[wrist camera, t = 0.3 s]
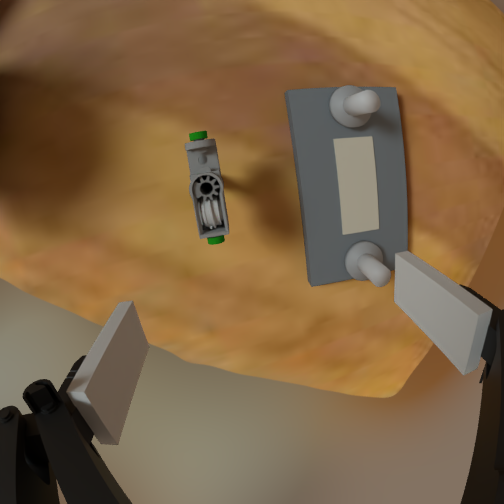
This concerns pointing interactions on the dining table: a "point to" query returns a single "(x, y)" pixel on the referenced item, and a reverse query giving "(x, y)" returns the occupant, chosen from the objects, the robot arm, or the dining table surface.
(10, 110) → the dining table surface
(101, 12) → the dining table surface
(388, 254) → the gear board
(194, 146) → the mechanical component
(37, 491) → the robot arm
